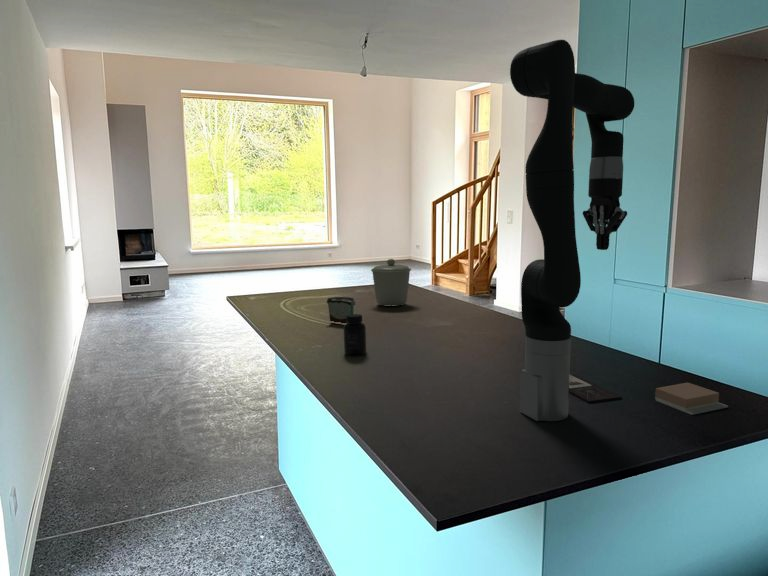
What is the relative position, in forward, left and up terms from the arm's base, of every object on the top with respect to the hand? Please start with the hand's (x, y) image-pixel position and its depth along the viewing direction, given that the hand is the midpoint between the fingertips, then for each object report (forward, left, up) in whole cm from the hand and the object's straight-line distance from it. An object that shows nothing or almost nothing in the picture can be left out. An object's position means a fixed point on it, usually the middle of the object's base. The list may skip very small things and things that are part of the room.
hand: (602, 249), depth 134 cm
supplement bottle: (-47, +52, -34) cm, 78 cm away
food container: (-37, +95, -34) cm, 107 cm away
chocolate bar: (-7, -3, -34) cm, 35 cm away
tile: (+8, -15, -32) cm, 36 cm away
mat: (+8, -21, -34) cm, 40 cm away
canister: (-6, +123, -34) cm, 127 cm away
